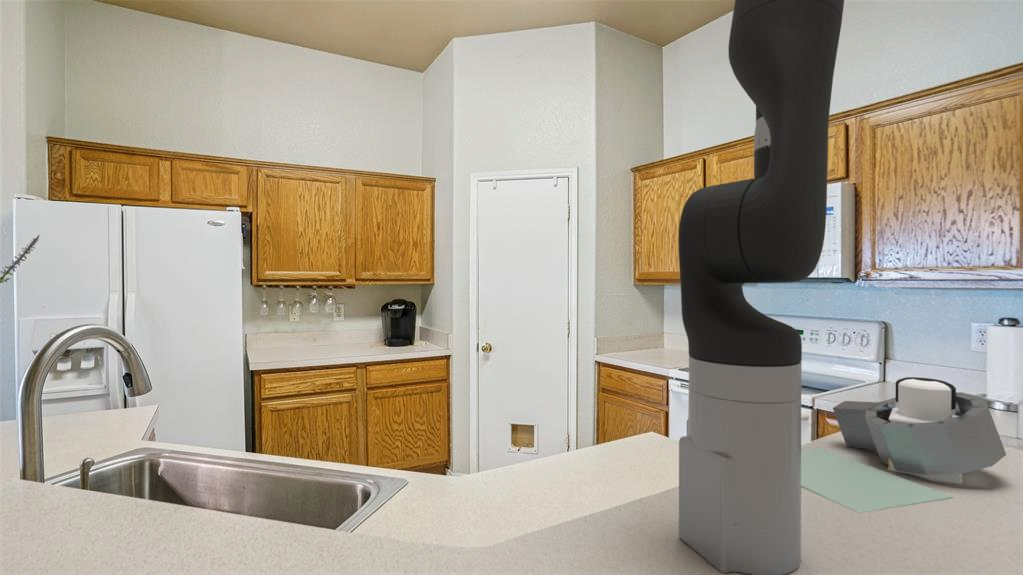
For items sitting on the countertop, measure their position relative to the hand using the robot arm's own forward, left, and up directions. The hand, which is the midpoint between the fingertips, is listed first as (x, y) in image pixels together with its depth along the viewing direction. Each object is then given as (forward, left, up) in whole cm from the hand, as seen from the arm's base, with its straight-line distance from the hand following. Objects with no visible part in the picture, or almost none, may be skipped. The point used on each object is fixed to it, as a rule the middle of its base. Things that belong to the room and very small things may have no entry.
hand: (780, 249), depth 77 cm
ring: (+9, -17, -28) cm, 34 cm away
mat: (-6, -15, -30) cm, 34 cm away
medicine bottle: (+7, -16, -30) cm, 35 cm away
